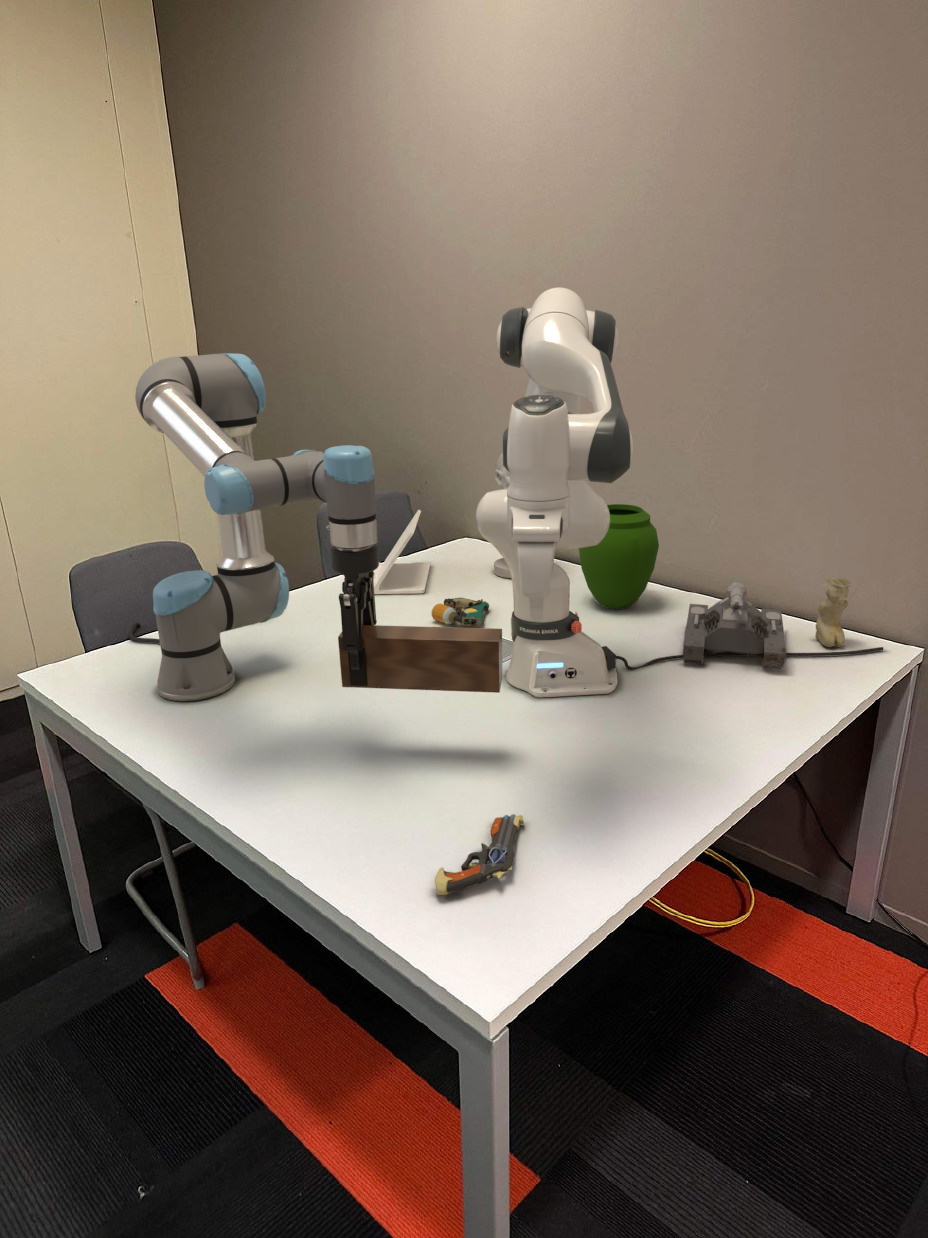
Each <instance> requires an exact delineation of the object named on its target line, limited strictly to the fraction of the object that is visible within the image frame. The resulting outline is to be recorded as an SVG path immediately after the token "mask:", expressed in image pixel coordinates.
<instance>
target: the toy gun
mask: <svg viewBox="0 0 928 1238" xmlns="http://www.w3.org/2000/svg"><path fill="white" fill-rule="evenodd" d="M524 821H525V820H524V815H522V814H519V815H516V814H514V813H513V814H511V815H508V814H505V815H504V816H498V817H495V818H494V820H493V822H492V825H491V828H490V836H491V838H492V839H491V842H490V844H489V845H486V844H484V843H482V842H481V843H480V845H481V851H474V852H470V853H469V854H467V858H466V859H465V861H464V862H463V863H462V864H461V865H460V867H461V868H460V869H461V871H456V872H451V871H446V870H445V869H444V867H443V866H442V867H440V868H439V869H438V870H437V873H436V875H435V878H434V884H435V889H436V890H435V891H436V894H437V895H438V896H447V895H448V894H451V893H454V892H459V891H462V890H465V889H468V888H470V887H473V886H475V885H480V884H483V883H487V882H489V881H490V880H491V879H494V878H497V881H501V880H502V878H503V877H504V876H505V875H506V872H508V871H511V870H513V864H514V860H515V844H516V840H517V835H518V832H519V829H520V827H521V825H524V824H525V822H524ZM475 860H476V861H478V862H477V863H476V864H473V863H472V862H473V861H475Z"/></svg>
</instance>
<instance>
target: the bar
mask: <svg viewBox="0 0 928 1238" xmlns="http://www.w3.org/2000/svg"><path fill="white" fill-rule="evenodd" d="M337 642H338V655H339V665H340V666H339V667H340V675H341V676H340V677H341V687H342V688H357V689H359V688H360V689H385V690H386V689H387V690H410V691H411V690H413V691H414V690H415V691H416V690H417V691H441V692H442V691H443V692H465V693H466V692H468V693H470V692H471V693H496V694H497V693H498V694H499V693H501V688H502V683H503V629H502V628H489V627H454V626H453V627H452V626H451V627H449V626H414V625H413V626H411V625H410V626H409V625H408V626H407V625H380V624H379V625H377V624H376V625H363V648H365V658H366V672H367V686H350V674H349V661H348V652H345V651H343V650H342V647H343V637H342V631H341V632H340V633H339V635H338V636H337Z"/></svg>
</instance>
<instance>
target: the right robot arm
mask: <svg viewBox="0 0 928 1238" xmlns="http://www.w3.org/2000/svg"><path fill="white" fill-rule="evenodd" d="M496 330H497V331H496V336H495V337H496V338H495V339H496V348H497V350H498V353H499V358H500V359H501V361H502V362H503V364H505V365H507V366H510V367H513V368H518V369H520V368H524V371H525V372H526V375H527V376H528V377H529V379H528V381H527V386H526V390H525V395H524V397H520V398H518V399H516V400H515V401H514V402H513V403H512V404H511V407H510V413H509V419H508V420H509V421H508V427H507V428H506V429H505V430H504V431H503V433H502V453H503V466H504V467H505V468H506V469H507V471H508V472H509V474H510V483H509V487H508V489H503V488H502V489H496V490H492V491H491V490H490V491H487V492H486V493H485V494H484V495H483V496H482V497H481V498H480V500H479V502H478V504H477V506H476V510H475V523H476V524H475V525H476V527H477V530H478V532H479V533H480V535H481V537H483V539H484V540H486V541H487V542H488V543H489V544H491V545H492V546H493V547H494V548H495V549H496V550H497V552H498V553H499V554H500V555H501V557H502V558H504V560H505V562H506V564H507V566H508V568H509V571H510V574H511V578H510V579H511V584H512V595H513V596H512V597H513V611H512V612H511V618H510V635H511V640H512V645H511V646H512V647H511V655H510V660H509V665H508V669H507V672H506V675H505V678H506V681H507V683H509V684H510V685H511V686H513V687H515V688H517V689H519V690H522V691H525V692H527V693H529V694H530V695H531V696H533V697H535V698H556V697H572V696H573V697H574V696H588V695H589V696H590V695H591V696H592V695H607V694H611V693H612V692H613V691H615V690H616V688H617V686H618V673H617V670H616V667H617V666H616V665H617V660H619V661H621V662H623V664H624V667H625V668H626V669H627V670H629V671H634V670H638V669H643V668H646V667H649V666H651V665H653V664H655V663H658V662H663V661H669V660H676V659H683V654H675V655H669V656H662V657H658V658H654V659H651V660H650V661H647V662H645V663H643V664H642V665H639V666H635V667H634V666H631V665H629V662H628V660H627V658H625V657H623V656H620V655H617V654H616V653H615V652H613V650H612V649H610V648H609V647H608V646H607V645H604V646H602V645H601V644H600V643H599V642H598V641H596V640H595V639H593V638H591V637H590V636H589V635H587V634H586V633H585V632H583V631H582V630H583V626H582V625H583V624H582V622H581V621H580V616H579V615H578V612H577V611H575V613H574V612H573V611H571V610H570V590H571V589H570V586H571V585H570V584H571V581H570V577H569V575H568V573H567V571H566V570H565V569H564V568H563V567H561V566H560V565H559V564H558V563H555V562H554V561H555V554H556V549H571V550H574V549H579V548H583V547H590V546H596V545H598V544H599V543H600V542H601V541H602V540H603V539H604V537H605V536H606V534H607V532H608V529H609V525H610V513H609V509H608V507H607V505H608V504H607V502H606V501H605V499H603V497H602V496H601V495H600V494H599V493H597V492H596V490H594V489H593V488H592V487H591V486H590V484H589V483H588V482H591V483H592V482H593V483H603V484H613V483H614V482H615V481H617V480H618V479H619V478H621V477H622V476H623V475H624V474H626V473H627V472H628V471H629V469H630V468H631V464H632V461H633V457H634V439H633V434H632V431H631V428H630V425H629V422H628V419H627V417H626V415H625V411H624V408H623V405H622V404H623V403H622V401H621V396H620V392H619V389H618V384H617V381H616V377H615V373H614V370H613V367H612V361H613V359H614V358H615V356H616V354H617V351H618V348H619V343H620V333H619V329H618V326H617V324H616V319H615V317H614V316H613V315H612V314H611V313H609V312H606V311H602V310H598V309H595V310H594V311H593V310H589V309H586V306H585V303H584V300H582V298H581V297H580V295H579V294H577V293H576V292H575V291H573V290H572V289H570V288H566V287H558V286H557V287H552V288H548V289H547V290H545V291H543V292H542V293H541V294H539V295H538V296H537V297H536V299H535V300H534V302H533V304H532V306H531V308H529V307H528V308H526V307H524V306H520V307H515V308H510V309H509V310H508V311H506V312H505V313H504V314H503V315H502V319H500V322H499V324H498V327H497V329H496ZM581 398H583V399H585V400H588V401H589V402H590V403H591V405H592V411H593V412H591V413H581ZM883 650H884V647H883V646H880V647H871V648H866V649H857V650H846V651H844V650H843V651H829V652H828V651H827V652H822V651H821V652H786V657H826V656H828V657H829V656H846V655H847V656H848V655H857V654H866V653H873V652H880V651H883ZM722 656H723V657H724V656H725V657H726V656H754V657H755V656H756V657H757V656H761V657H762V655H761V654H756V655H752V654H740V653H728V652H704V655H703V657H722Z"/></svg>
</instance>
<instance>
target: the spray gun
mask: <svg viewBox="0 0 928 1238" xmlns="http://www.w3.org/2000/svg"><path fill="white" fill-rule="evenodd" d="M489 608H490V604H489V602H487V601H484V599H483V598H481V599H478V600H474V599H469V598H465V597H454V598H444V600H443V603H437V604H435V605H434V606H433V608H432V609H431V612H430V613H431V617H432V619H433V620H434V621H437V622H439V623H441V624H445V625H452V624H455V623H459V624H461V625H462V626H464V627H465V626H470V627H482V625H483V622H484V619H485V614H486V612H488V610H489Z"/></svg>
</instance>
